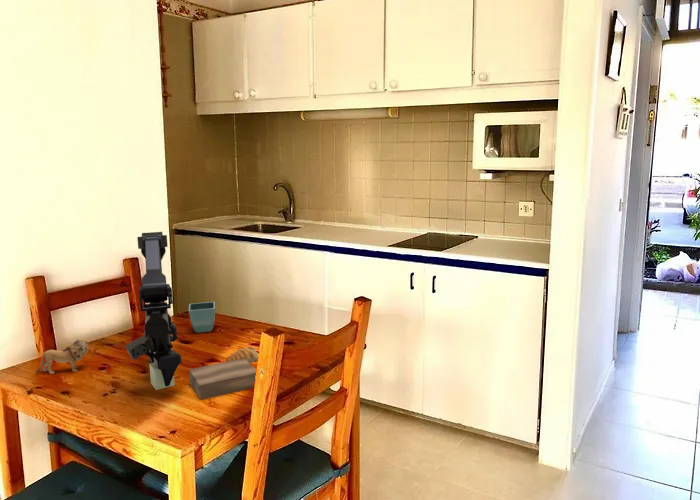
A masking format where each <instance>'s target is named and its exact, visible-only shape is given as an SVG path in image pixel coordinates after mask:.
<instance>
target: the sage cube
mask: <svg viewBox="0 0 700 500" xmlns="http://www.w3.org/2000/svg"><path fill="white" fill-rule="evenodd" d="M148 367H149V375H150V384H151V386H153V388H154V389H155V391H157V390H158V391H159V390H162V389H165V388H170V387H174V386H175V374H174V375H173V378H172V380H171V383H170V385H169V386H165V384H164V381H163V377H162V373H161V370H159V369H157V368H156V366H155V363H151V362H150V363H149V366H148Z"/></svg>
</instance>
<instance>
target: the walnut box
mask: <svg viewBox="0 0 700 500" xmlns="http://www.w3.org/2000/svg"><path fill="white" fill-rule="evenodd" d="M256 370H257V369H256V368H255V367H254V366H253V365H252V364H251V363H249V362H248V361H247V360H246V359H245V358H244V359H239V360H234V361H229V362H226V361H225V362H219V363H214V364H210V365H205V366H199V367H195V368H189V369H188V373H189V374H188V377H189V385H190V386H191V387H192V389H193V390H194V391H195V393H196V394H197V396H198V398H199V399H200V400H201V401H202V400H206V399H209V398H211V399H212V398H214V397H218V396H223V395H226V394H227V395H228V394H232V393H236V392H241V391H245V390H246V391H247V390H249V389H253V388H254V382H255V375H256Z"/></svg>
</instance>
